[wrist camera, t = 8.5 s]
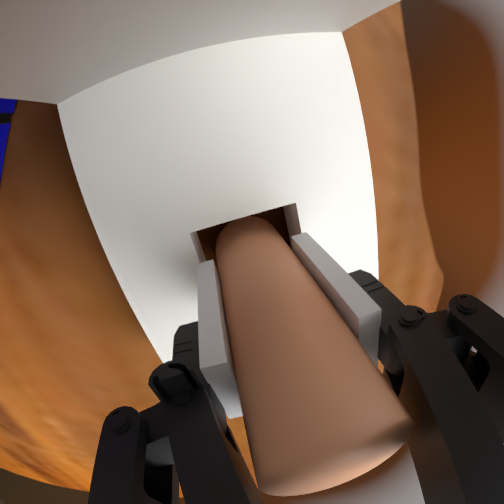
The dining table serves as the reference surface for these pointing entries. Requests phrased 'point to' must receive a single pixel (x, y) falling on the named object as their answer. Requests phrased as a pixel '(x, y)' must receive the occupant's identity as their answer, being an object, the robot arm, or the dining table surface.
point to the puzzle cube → (5, 125)
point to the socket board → (199, 128)
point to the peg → (300, 370)
